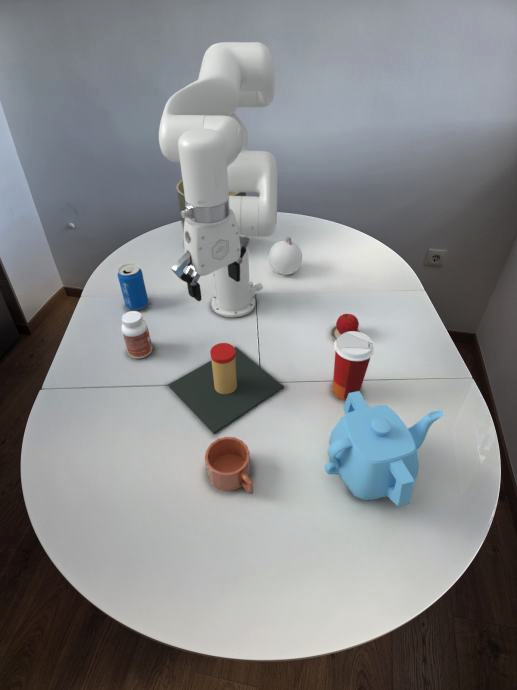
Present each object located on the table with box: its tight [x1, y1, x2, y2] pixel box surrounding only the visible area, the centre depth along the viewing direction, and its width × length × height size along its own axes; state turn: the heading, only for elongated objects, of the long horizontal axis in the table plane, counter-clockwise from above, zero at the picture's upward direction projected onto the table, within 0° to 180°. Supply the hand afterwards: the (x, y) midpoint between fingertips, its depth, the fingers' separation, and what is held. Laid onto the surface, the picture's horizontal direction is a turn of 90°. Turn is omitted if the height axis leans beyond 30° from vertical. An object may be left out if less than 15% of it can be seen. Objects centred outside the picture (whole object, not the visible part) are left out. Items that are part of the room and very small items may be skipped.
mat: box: [167, 346, 285, 435], centre depth 100 cm, size 20×18×1 cm
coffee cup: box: [332, 331, 375, 402], centre depth 94 cm, size 8×8×15 cm
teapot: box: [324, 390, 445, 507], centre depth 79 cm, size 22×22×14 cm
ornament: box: [267, 236, 303, 276], centre depth 132 cm, size 10×10×12 cm
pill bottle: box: [120, 310, 153, 359], centre depth 105 cm, size 6×6×11 cm
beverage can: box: [117, 263, 149, 311], centre depth 120 cm, size 6×6×12 cm
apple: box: [329, 313, 362, 341], centre depth 111 cm, size 8×8×6 cm
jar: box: [209, 342, 237, 394], centre depth 96 cm, size 5×5×11 cm
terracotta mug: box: [204, 436, 254, 495], centre depth 81 cm, size 11×8×6 cm
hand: (215, 288), depth 87 cm, fingers open, 9 cm apart
